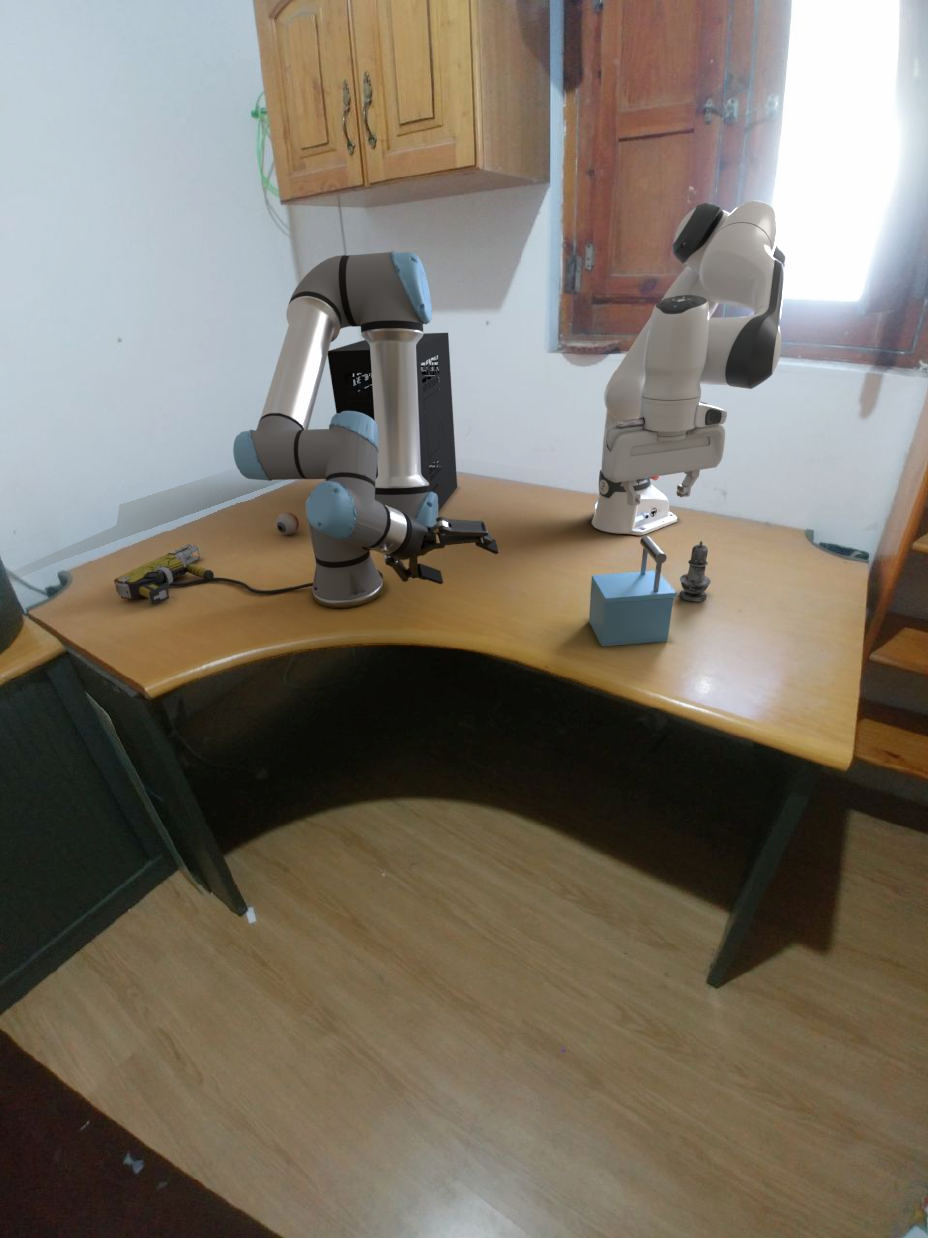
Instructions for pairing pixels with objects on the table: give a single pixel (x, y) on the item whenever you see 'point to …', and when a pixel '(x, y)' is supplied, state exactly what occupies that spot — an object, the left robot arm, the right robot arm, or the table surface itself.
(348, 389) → the dark boxy piece
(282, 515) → the eyeball
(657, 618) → the chest
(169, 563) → the toy gun
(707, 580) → the dark grey turned figure
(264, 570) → the table surface
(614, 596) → the lid
